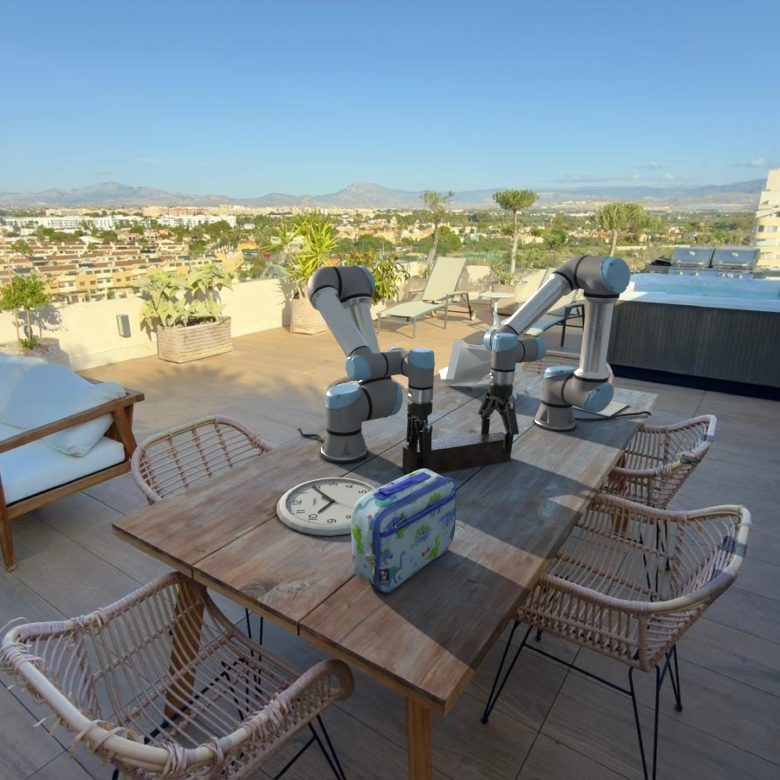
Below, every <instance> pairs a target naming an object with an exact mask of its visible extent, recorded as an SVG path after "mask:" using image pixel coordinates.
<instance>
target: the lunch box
mask: <svg viewBox="0 0 780 780" xmlns="http://www.w3.org/2000/svg"><path fill="white" fill-rule="evenodd" d="M456 517H457V485H456V481H455V479H453V478H452V477H449V476H447V477H445V476H442V475H440V474H439V473H435V472H433V471H431V470H429V469H420V470H417V471H414V472H412V473H410V474H405V475H403V476H401V477H399V478H397V479H394V480H393V481H390V482H388V483H387V484H383V485H382V486H380V487H377V489H376V490H374V491H372V492H370V493H367V494H365V495H364V496H362V497H361V498H360V499H359V500H358V501H357V502H356V504H355V505H354V507H353V510H352V514H351V533H350V538H351V539H350V540H351V564H352V570H353V572H354V574H355V575H356V576H358V577H359V578H362V579H364V580H366V581H368V582H369V583H370V584H372V585H374V586H375V587H376V589H377V590H379V591H381V592H383V593H391V592H392V591H394V590H395V589H397V588H398V587H400V586H401V584H403V583H404V582H406V581H407V580H408V579H410V578H411V577H412V576H414V575H415V574H417V573H418V572H419V571H421V570H423V568H425V566H426V565H428V564H429V563H431V562H432V561H434V560H435V559H437V558H440V556H442V555H443V554H445V553H446V552H447V550H448V549H449V548H450V546H451V545H452V542H453V540H454V537H455V532H456V522H457V521H456V519H457V518H456Z"/></svg>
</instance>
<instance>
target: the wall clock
mask: <svg viewBox="0 0 780 780" xmlns="http://www.w3.org/2000/svg"><path fill="white" fill-rule="evenodd" d="M376 489H378V487H376V486H374V485H372V484H371V483H369V482H365V481H362V480H359V479H355V478H349V477H338V476H337V477H335V476H333V477H332V476H331V477H322V478H317V479H312V480H307V481H305V482H302V483H299V484H297V485H295V486H293V487H292V488H290V489H288V490H287V491H286V492H285V493H284V494H283V495H281V496H280V498H279V499H278V502H277V503H276V515H277V517H278V518H279V520H280V521H281V522H282V523H283V524H285V525H286V526H287V527H288V528H290V529H293V530H295V531H297V532H299V533H303V534H308V535H312V536H327V537H328V536H329V537H331V536H332V537H333V536H342V535H350V534H351V514H352V510H353V507H354V505H355V504H356V502H357V501H358V500H359V499H360V498H361V497H362V496H364V495H365V494H367V493H370V492H372V491H374V490H376Z"/></svg>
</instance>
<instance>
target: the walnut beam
mask: <svg viewBox="0 0 780 780" xmlns="http://www.w3.org/2000/svg"><path fill="white" fill-rule="evenodd" d="M505 433H506V432H503V431H500V432H491V433H489V434H484V435H481V434H477V435H470V436H464V437H462V436H461V437H458V438H457V437H456V438H448V439H441V440H434V441H432V451H431V457H427V469H429V470H431V471H433V472H435V473H437V474H439V473H445V472H449V471H457V470H463V469H468V468H476V467H481V466H486V465H487V466H488V465H493V464H499V463H503V462H510V461H511V455H512V452H511V453H505V454H504V453H503V444H504V434H505ZM418 455H420V451H419V444H413V445H409V444H407V445H406V444H405V445H403V446H402V466H401V467H402V471H404V473H405V475H407V474H410V473H412V472H414V471H417V470H418Z"/></svg>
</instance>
